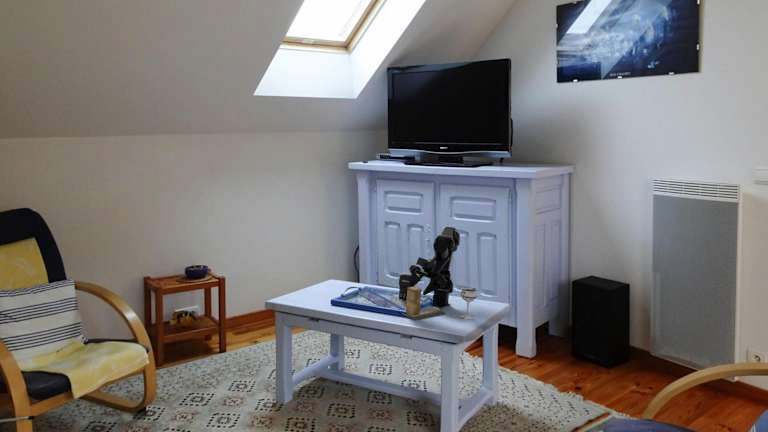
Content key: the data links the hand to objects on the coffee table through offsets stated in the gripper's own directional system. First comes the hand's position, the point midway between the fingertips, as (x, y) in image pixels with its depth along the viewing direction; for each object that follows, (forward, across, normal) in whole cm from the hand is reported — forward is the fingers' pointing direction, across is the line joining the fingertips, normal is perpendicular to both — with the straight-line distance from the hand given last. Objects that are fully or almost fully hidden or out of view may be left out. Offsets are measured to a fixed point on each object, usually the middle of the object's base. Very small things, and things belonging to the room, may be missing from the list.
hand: (415, 291), depth 275 cm
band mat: (+4, -1, +10) cm, 11 cm away
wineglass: (-6, +12, +20) cm, 24 cm away
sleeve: (+8, 0, +6) cm, 9 cm away
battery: (-1, -19, +15) cm, 25 cm away
